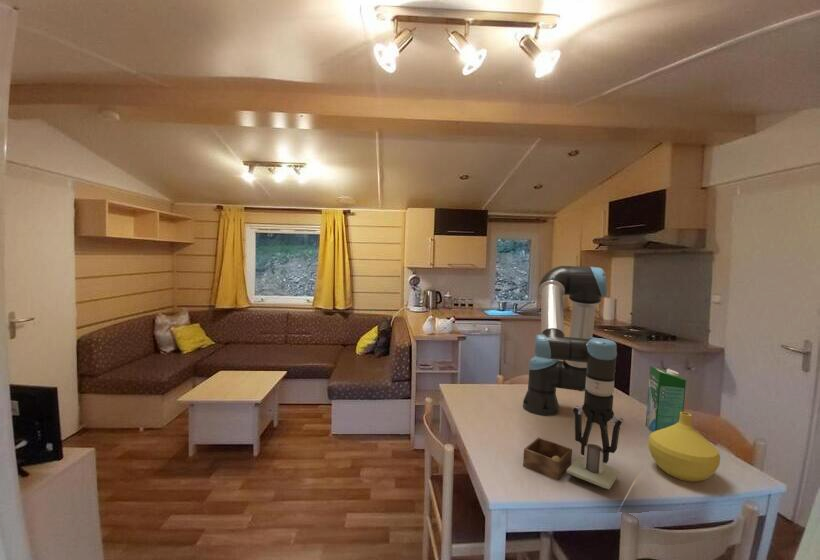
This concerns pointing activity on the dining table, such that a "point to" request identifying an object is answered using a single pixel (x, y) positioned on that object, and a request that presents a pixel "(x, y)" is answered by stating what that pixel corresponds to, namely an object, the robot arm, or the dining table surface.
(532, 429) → the dining table surface
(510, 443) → the dining table surface
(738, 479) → the dining table surface
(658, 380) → the milk carton
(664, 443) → the vase
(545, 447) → the walnut box
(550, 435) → the dining table surface
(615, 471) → the lid
